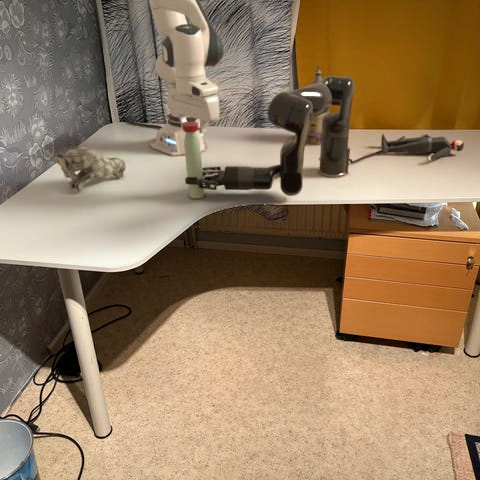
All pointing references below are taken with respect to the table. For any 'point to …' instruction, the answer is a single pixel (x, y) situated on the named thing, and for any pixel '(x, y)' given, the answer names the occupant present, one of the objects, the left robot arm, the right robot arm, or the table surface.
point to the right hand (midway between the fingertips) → (187, 177)
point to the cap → (190, 127)
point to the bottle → (193, 162)
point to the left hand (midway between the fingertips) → (193, 130)
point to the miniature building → (317, 118)
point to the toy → (421, 145)
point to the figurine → (88, 166)
